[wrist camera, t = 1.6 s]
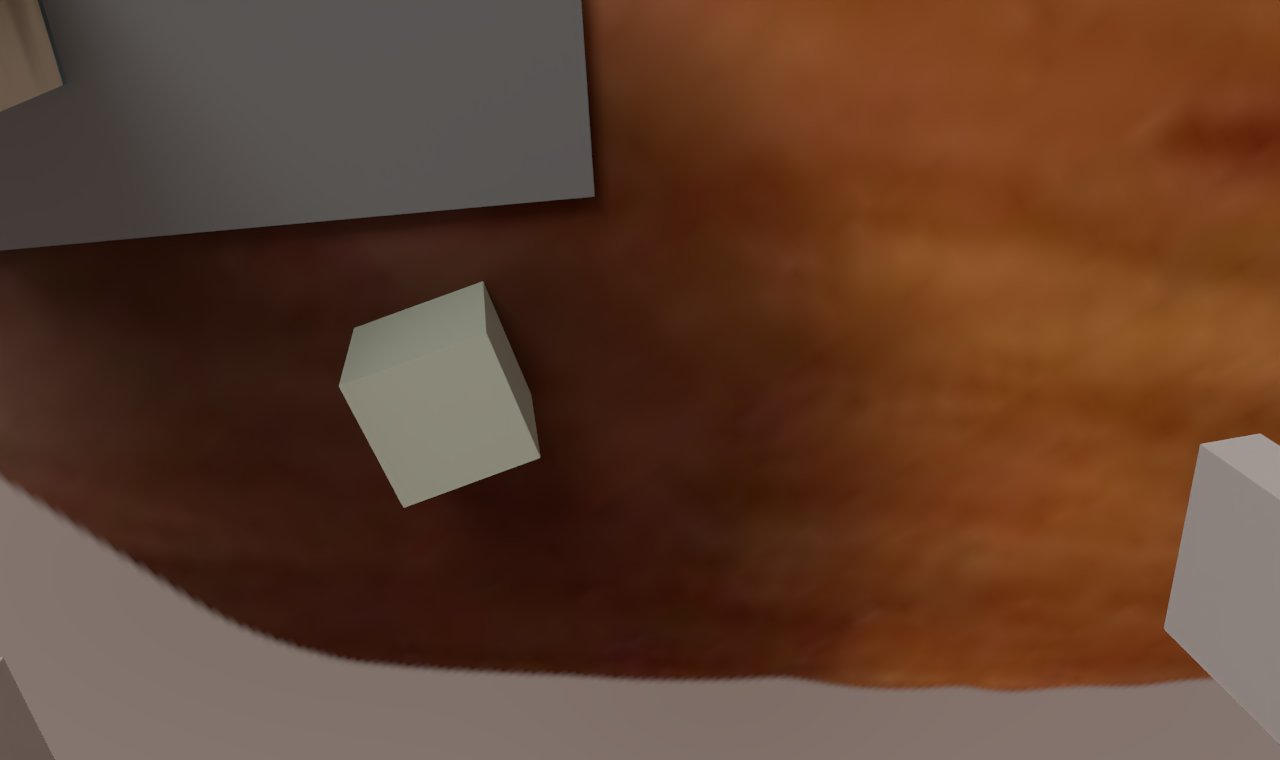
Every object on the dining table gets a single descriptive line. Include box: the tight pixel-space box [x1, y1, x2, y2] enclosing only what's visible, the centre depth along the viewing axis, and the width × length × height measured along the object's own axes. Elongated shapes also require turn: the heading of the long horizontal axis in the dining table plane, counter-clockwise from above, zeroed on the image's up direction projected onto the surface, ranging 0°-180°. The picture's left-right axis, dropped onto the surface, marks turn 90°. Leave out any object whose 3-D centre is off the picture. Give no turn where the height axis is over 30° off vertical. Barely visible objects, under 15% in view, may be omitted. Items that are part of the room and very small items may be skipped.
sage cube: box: [339, 282, 541, 508], centre depth 34 cm, size 5×5×5 cm
